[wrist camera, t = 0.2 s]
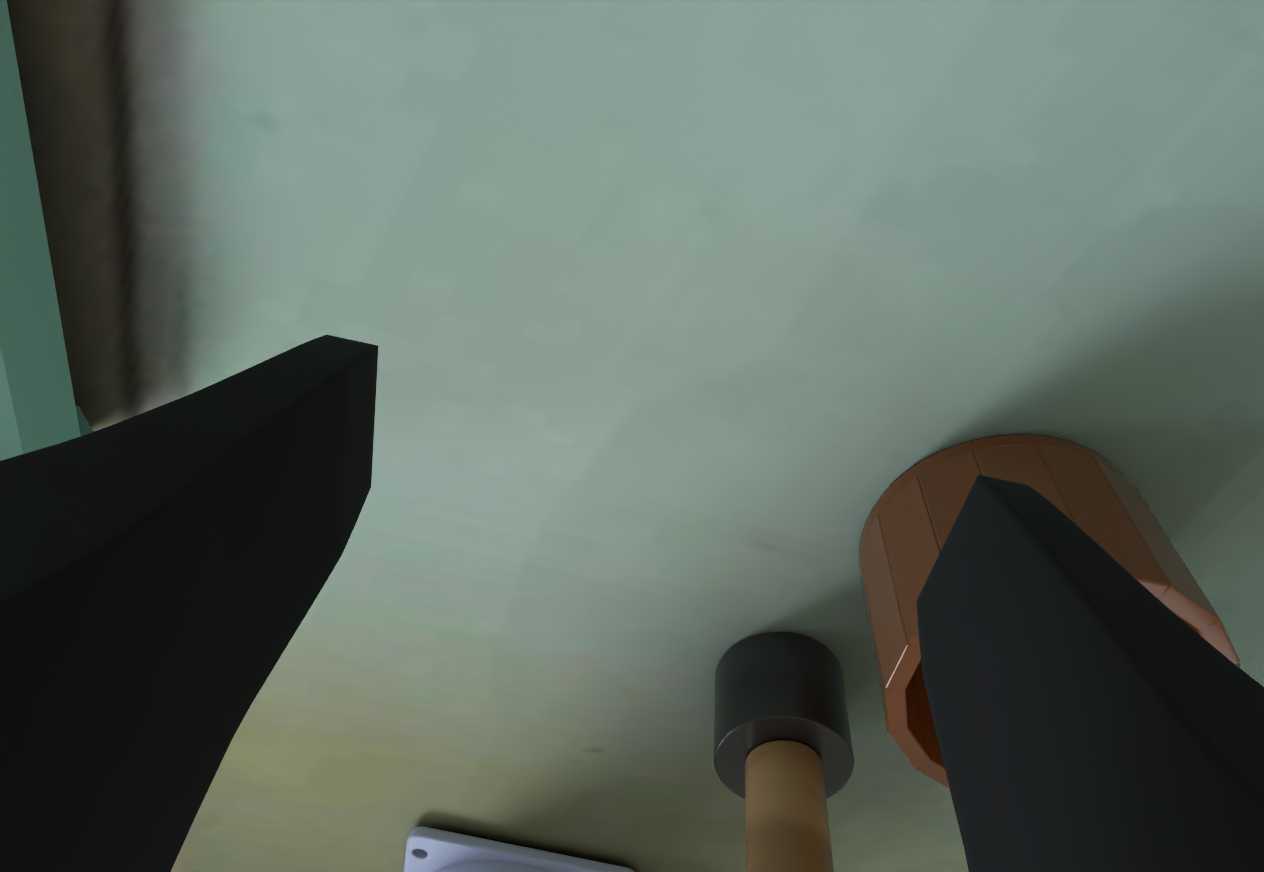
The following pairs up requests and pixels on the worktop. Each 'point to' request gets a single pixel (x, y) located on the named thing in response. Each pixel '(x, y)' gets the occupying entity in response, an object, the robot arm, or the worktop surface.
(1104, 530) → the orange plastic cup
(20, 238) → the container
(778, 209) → the worktop surface
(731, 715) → the brush
